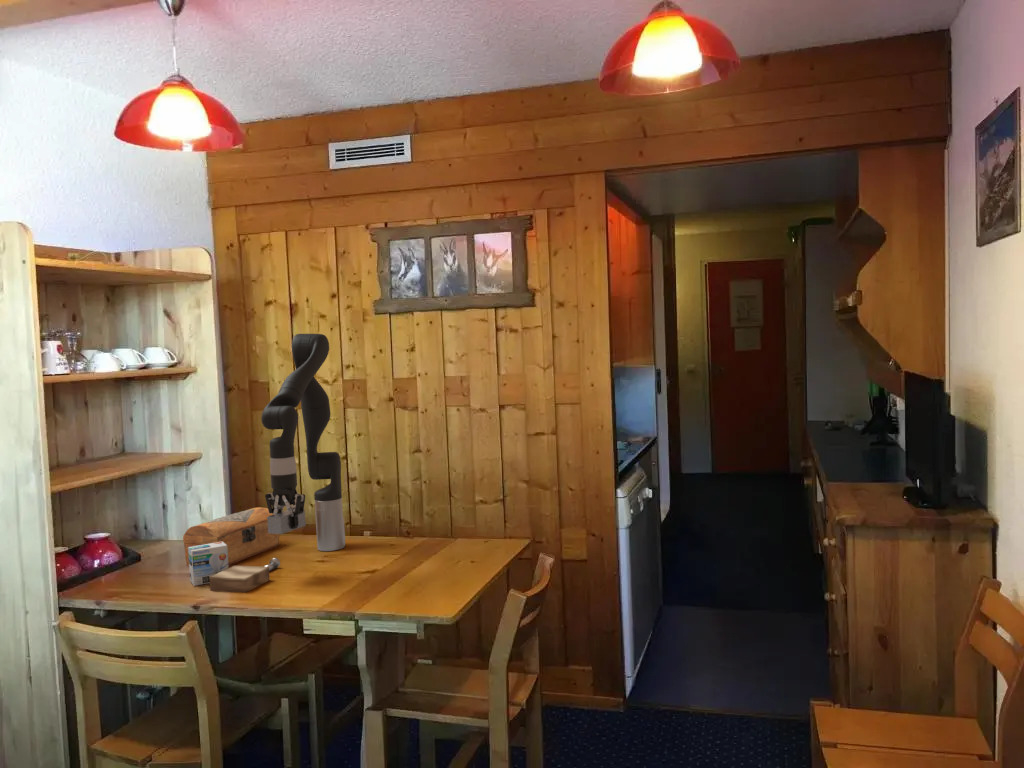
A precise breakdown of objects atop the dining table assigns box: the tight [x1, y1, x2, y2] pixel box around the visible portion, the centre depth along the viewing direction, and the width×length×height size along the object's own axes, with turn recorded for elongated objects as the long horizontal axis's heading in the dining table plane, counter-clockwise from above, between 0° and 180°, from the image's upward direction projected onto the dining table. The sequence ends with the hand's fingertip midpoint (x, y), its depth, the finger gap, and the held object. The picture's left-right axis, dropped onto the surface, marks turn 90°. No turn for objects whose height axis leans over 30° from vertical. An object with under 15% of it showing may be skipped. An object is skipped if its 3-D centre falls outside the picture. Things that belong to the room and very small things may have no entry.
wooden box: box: [182, 506, 280, 567], centre depth 278 cm, size 30×16×14 cm, turn 156°
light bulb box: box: [188, 541, 230, 587], centre depth 248 cm, size 11×7×11 cm, turn 122°
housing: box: [267, 509, 307, 535], centre depth 246 cm, size 11×5×5 cm, turn 155°
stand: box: [209, 565, 271, 593], centre depth 242 cm, size 12×12×4 cm
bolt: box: [263, 557, 281, 572], centre depth 256 cm, size 6×3×3 cm, turn 163°
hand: (287, 527), depth 246 cm, fingers closed on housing, 5 cm apart
